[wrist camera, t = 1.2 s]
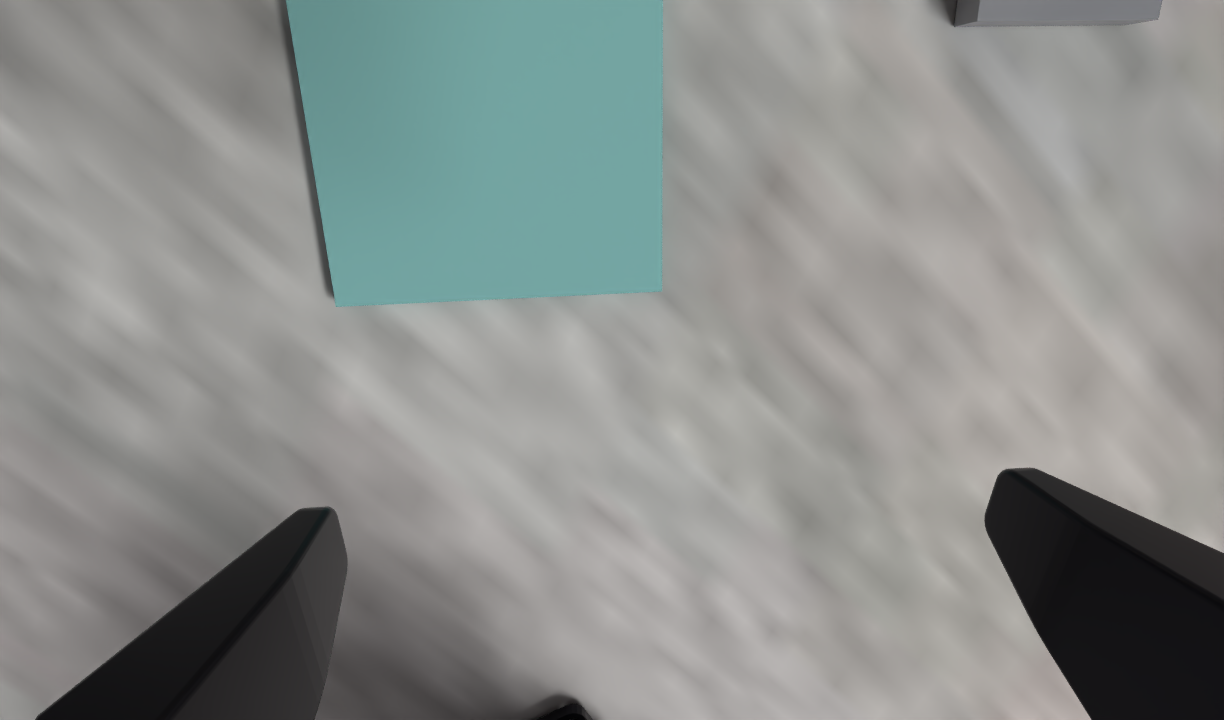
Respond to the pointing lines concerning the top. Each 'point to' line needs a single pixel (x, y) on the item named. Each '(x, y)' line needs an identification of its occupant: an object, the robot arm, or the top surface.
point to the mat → (484, 146)
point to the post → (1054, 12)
